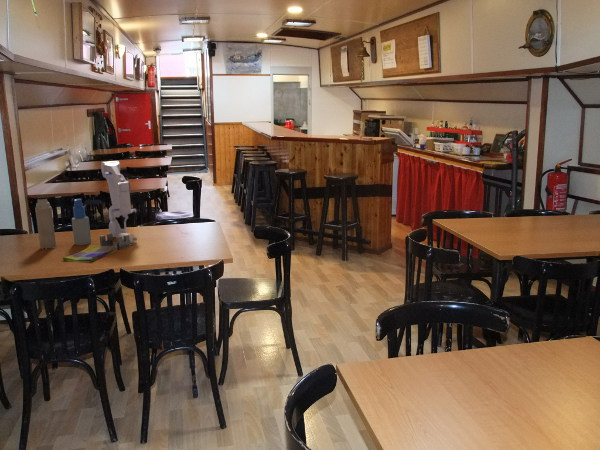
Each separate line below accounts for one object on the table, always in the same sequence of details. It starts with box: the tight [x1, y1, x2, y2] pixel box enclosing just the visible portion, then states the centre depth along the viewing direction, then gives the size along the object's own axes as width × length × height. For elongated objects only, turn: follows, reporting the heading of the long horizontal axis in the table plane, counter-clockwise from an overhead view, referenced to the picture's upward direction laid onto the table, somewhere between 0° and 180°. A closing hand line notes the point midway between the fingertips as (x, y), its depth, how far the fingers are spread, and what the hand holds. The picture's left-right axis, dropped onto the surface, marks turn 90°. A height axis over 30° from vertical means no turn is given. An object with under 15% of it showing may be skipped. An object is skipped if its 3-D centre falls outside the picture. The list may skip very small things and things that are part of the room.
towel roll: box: [117, 233, 138, 244], centre depth 314 cm, size 13×5×5 cm, turn 64°
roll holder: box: [99, 232, 133, 251], centre depth 306 cm, size 15×10×6 cm, turn 64°
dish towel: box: [62, 244, 118, 264], centre depth 290 cm, size 18×24×3 cm
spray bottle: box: [71, 198, 92, 246], centre depth 313 cm, size 9×9×25 cm
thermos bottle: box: [34, 196, 57, 250], centre depth 305 cm, size 8×8×28 cm
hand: (127, 227), depth 313 cm, fingers open, 7 cm apart
